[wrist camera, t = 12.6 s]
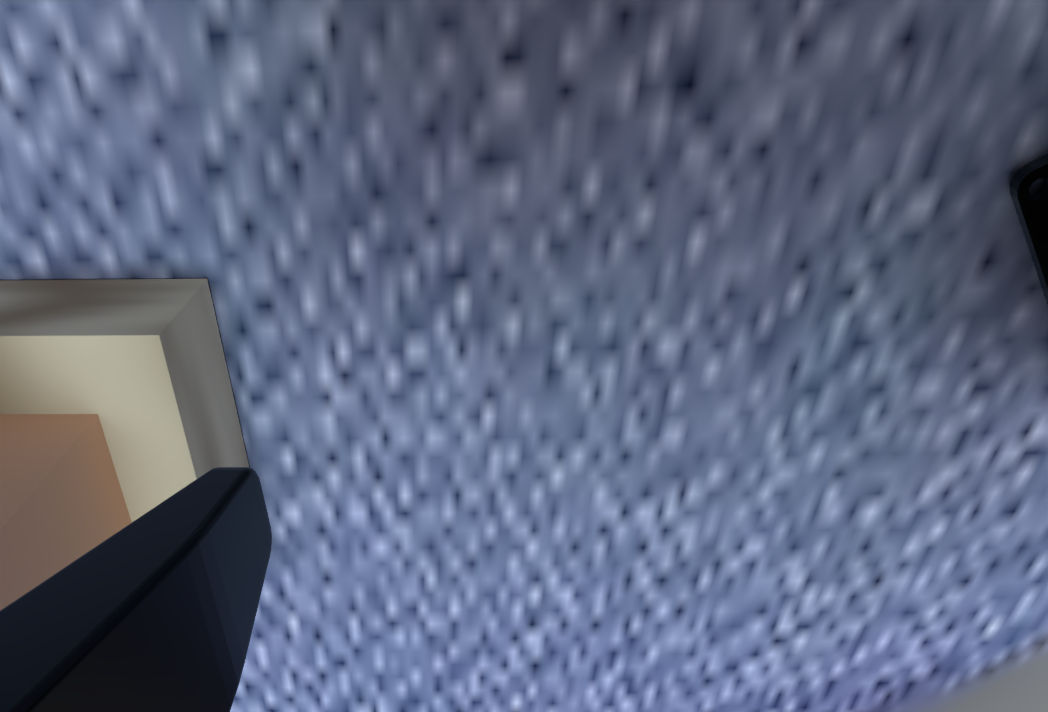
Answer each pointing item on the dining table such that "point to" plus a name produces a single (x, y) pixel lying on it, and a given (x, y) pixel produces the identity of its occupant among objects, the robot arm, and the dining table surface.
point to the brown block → (53, 496)
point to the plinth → (125, 374)
